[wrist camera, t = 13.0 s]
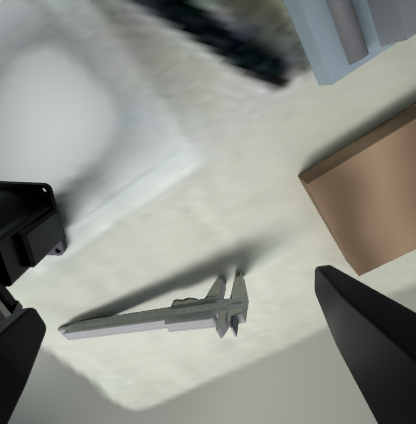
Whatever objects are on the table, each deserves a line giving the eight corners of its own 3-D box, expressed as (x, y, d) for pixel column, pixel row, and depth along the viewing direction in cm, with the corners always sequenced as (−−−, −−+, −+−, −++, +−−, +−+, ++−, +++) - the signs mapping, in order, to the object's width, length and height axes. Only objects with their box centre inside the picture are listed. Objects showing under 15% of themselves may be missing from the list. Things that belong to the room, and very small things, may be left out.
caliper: (240, 267, 24) (250, 322, 18) (243, 275, 24) (255, 332, 18) (59, 325, 27) (20, 388, 21) (65, 332, 27) (28, 395, 22)
